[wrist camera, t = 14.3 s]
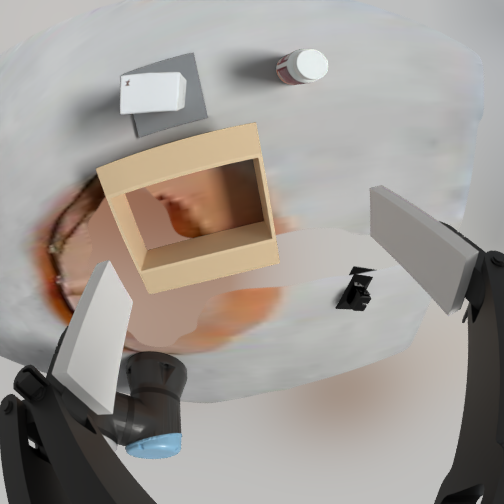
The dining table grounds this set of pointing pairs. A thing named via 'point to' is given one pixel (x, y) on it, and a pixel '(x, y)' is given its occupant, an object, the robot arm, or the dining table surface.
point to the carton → (204, 247)
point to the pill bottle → (302, 67)
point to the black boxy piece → (356, 291)
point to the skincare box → (152, 92)
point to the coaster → (193, 97)
